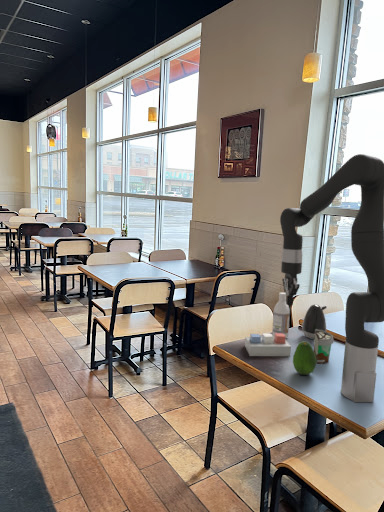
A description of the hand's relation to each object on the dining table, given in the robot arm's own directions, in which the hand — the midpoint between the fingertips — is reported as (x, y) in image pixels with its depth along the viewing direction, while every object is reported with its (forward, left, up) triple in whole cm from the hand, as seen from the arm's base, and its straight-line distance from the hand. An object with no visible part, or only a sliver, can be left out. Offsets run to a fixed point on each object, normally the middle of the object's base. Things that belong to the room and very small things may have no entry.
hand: (289, 304), depth 144 cm
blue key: (+3, +12, -18) cm, 22 cm away
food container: (-5, -13, -21) cm, 25 cm away
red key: (+3, +2, -18) cm, 18 cm away
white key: (+3, +7, -18) cm, 19 cm away
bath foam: (+19, -3, -21) cm, 28 cm away
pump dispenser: (+18, -18, -21) cm, 33 cm away
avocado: (-17, -1, -21) cm, 27 cm away
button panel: (+3, +7, -20) cm, 22 cm away
